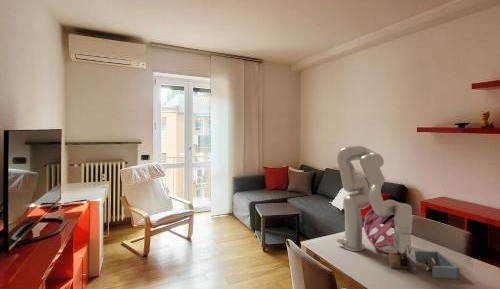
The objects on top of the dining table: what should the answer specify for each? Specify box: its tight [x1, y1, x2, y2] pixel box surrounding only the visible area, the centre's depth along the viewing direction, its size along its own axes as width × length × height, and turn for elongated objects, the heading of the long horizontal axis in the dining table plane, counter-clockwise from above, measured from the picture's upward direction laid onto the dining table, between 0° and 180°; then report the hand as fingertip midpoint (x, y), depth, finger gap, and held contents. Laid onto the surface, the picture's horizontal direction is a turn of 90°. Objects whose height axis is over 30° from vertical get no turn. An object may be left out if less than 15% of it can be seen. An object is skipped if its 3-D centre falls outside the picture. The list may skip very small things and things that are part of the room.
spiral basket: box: [363, 207, 414, 254], centre depth 152 cm, size 28×28×27 cm
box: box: [414, 250, 461, 280], centre depth 131 cm, size 11×17×5 cm, turn 173°
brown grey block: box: [387, 253, 417, 273], centre depth 133 cm, size 10×11×6 cm
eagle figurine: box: [420, 258, 436, 271], centre depth 129 cm, size 8×7×9 cm
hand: (402, 263), depth 133 cm, fingers closed on brown grey block, 3 cm apart
